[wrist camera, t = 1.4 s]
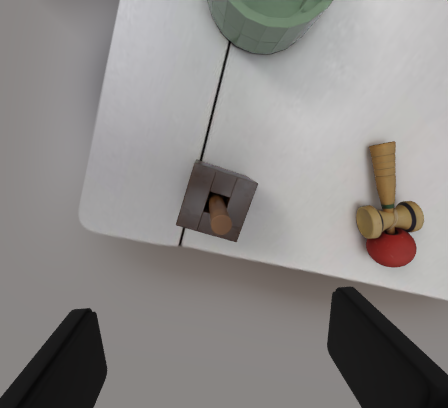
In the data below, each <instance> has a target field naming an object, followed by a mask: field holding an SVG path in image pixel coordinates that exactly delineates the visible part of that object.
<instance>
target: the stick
mask: <svg viewBox="0 0 448 408" xmlns="http://www.w3.org/2000/svg"><path fill="white" fill-rule="evenodd" d="M208 202H209V212H210V223H211V229H212V230H213V232H214V233H216V234H219V235H224V234H226V233H228V232H229V231H230V230H231V228H232V221H231V218H230V215H229V213H228V210H227V208H226V205H225V203H224V200H223V197H222V195H220V194H217V193H213V192H209V195H208Z"/></svg>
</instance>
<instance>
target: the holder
mask: <svg viewBox="0 0 448 408" xmlns="http://www.w3.org/2000/svg"><path fill="white" fill-rule="evenodd" d="M257 185H258V183H256V182H255V181H253V180H252V179H250V178H249V177H247V176H245V175H242V174H239V173H236V172H233V171H230V170H227V169H224V168H221V167H218V166H215V165H212V164H209V163H206V162H203V161H200V160H196V162H195V164H194V167H193V170H192V173H191V177H190V180H189V183H188V187H187V190H186V193H185V196H184V200H183V203H182V206H181V210H180V213H179V216H178V220H177V223H176V225H177V226H181V227H184V228H188V229H192V230H195V231H198V232H202V233H205V234H209V235H213V236H217V237H220V238H223V239H227V240H230V241H234V242H237V239H238V237H239V234H240V231H241V229H242V226H243V223H244V220H245V218H246V215H247V212H248V210H249V207H250V204H251V202H252V199H253V196H254V193H255V191H256V188H257ZM209 192H213V193H217V194H220V195H222V197H223V200H224V203H225V205H226V208H227V210H228V213H229V215H230V218H231V221H232V228H231V230H230V231H229V232H228V233H226V234H224V235H219V234H216V233H214V232H213V230H212V229H211V223H210V212H209V202H208V195H209Z"/></svg>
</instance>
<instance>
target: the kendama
mask: <svg viewBox="0 0 448 408" xmlns="http://www.w3.org/2000/svg"><path fill="white" fill-rule="evenodd" d="M369 148H370V153H371V157H372V163H373V168H374V174H375V176H376V177H375V181H376V186H377V191H378V195H379V198H380V202H381V205H382V209H383V211H381V210H377V209H375V208H374V207H373V206H370V205H368V206H363V207H360V208H359V209H358V211H357V215H356V220H357V225H358V228H359V231H360V232H361V234H362V235H363V236H364V237H365V238H367V241H366V248H367V251H368V253H369V255H370V256H371V258H372V259H373V260H374V261H376V262H377V263H379V264H381V265H383V266H387V267H401V266H404V265H406V264H408V263H409V262H411V261H412V260H413V258H414V256H415V254H416V243H415V241H414V239H413V238H412V236H411V235H410V234H409V233H408V232H414V231H418V230H420V229H421V228H422V226H423V223H424V215H423V212H422V210H421V208H420V207H419V206H418V205H417V204H416V203H415V202H412V201H404V202H400V203H399V204H398V205H397V206H396V208H394V202H395V187H396V176H395V154H394V153H395V142H388V143H383V144H378V145H373V146H370V147H369Z"/></svg>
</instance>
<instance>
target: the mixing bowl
mask: <svg viewBox="0 0 448 408" xmlns="http://www.w3.org/2000/svg"><path fill="white" fill-rule="evenodd" d="M207 1H208V4H209V8H210V12H211V15H212V17H213V19H214V20H215V22H216V24H217V25H218V27H219V29H220V30H221V32H222V33H223V35H225V36H226V37H227V38H228V39H229V40H230V41H231V42H232V43H233V44H234V45H236V46H237V47H239V48H242V49H244V50H246V51H249V52H251V53H260V54H272V53H275V52H278V51H281V50H284V49H286V48H288V47H289V46H291V45H292V44H293V43H295V42H296V41H297V40H299V39H300V38H301V37H302V36H303V35H304V34H305V32H306V31H307V30H308V29H309V28H310V27H311V26H312V25H313V23H314V22H315V21H316V20H317V19H318V18H319V17H320V16H321V14H322V13H323V12H324V11H325V10H326V9H327V8H328V6H329V5H330V4H331V2H332V1H333V0H207Z"/></svg>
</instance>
